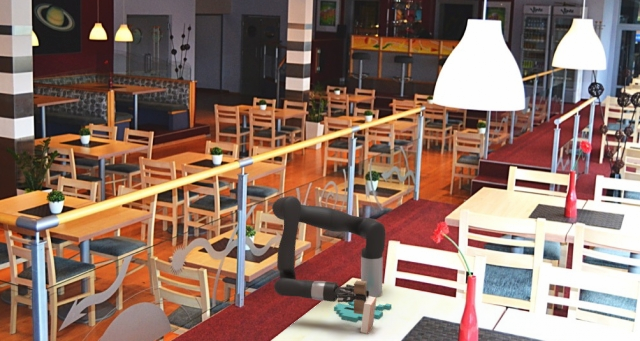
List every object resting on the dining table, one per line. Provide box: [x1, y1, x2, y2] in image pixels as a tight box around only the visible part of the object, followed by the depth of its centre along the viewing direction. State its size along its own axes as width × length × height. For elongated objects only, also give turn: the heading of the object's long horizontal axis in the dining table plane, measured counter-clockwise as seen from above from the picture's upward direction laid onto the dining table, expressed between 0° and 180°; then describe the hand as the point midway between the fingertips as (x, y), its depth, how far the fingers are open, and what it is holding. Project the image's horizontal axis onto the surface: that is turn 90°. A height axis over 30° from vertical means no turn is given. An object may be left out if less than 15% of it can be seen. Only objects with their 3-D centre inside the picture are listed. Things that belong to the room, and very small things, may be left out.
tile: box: [360, 296, 377, 335], centre depth 319 cm, size 8×3×12 cm, turn 163°
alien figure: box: [333, 300, 392, 323], centre depth 337 cm, size 20×2×20 cm
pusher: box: [353, 280, 367, 314], centre depth 318 cm, size 4×4×12 cm
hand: (367, 295), depth 317 cm, fingers closed on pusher, 4 cm apart
